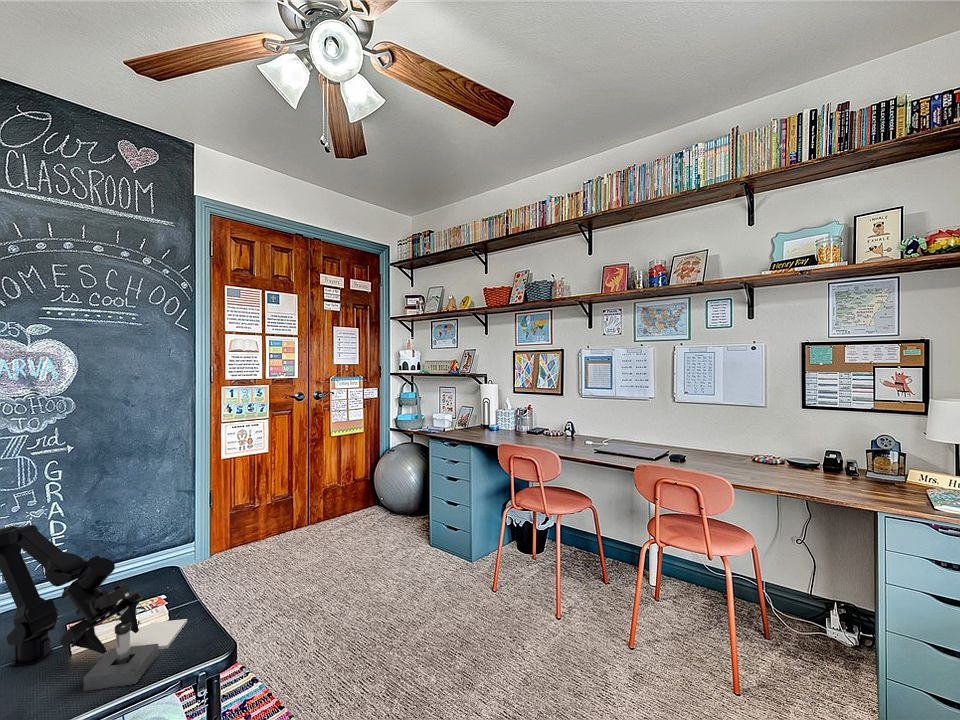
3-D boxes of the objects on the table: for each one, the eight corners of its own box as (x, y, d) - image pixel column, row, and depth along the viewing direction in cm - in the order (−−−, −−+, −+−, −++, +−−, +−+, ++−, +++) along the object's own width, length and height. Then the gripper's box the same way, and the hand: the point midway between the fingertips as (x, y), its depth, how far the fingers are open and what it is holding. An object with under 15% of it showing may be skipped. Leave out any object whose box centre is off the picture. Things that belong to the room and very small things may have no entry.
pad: (113, 654, 133) (113, 651, 132) (138, 627, 146) (138, 623, 146) (167, 648, 135) (167, 645, 135) (187, 622, 149) (187, 618, 149)
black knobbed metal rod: (111, 677, 123) (111, 629, 123) (119, 668, 126) (119, 621, 126) (126, 675, 124) (127, 627, 124) (134, 667, 127) (134, 620, 127)
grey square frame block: (83, 691, 118) (83, 677, 118) (111, 661, 130) (111, 648, 130) (136, 684, 120) (136, 671, 120) (158, 655, 132) (158, 643, 132)
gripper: (68, 596, 117) (104, 644, 115) (136, 564, 135) (168, 605, 133) (44, 624, 118) (79, 671, 116) (114, 588, 137) (146, 629, 135)
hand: (121, 641), depth 125 cm, fingers open, 9 cm apart
